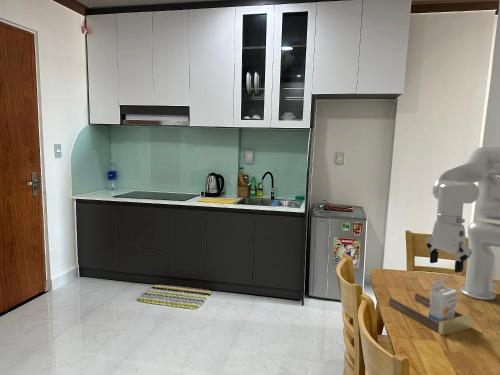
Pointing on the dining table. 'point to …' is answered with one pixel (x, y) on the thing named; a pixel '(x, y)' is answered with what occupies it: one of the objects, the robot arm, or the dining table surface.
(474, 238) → the robot arm
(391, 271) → the dining table surface
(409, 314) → the slide guide
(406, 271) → the dining table surface
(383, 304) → the dining table surface
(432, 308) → the ink box
